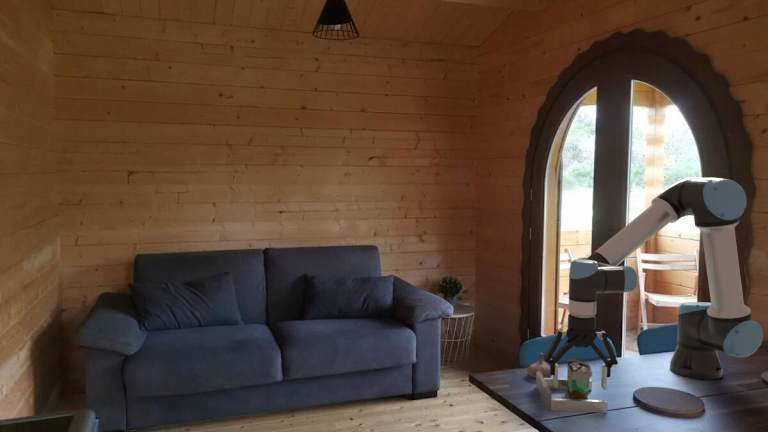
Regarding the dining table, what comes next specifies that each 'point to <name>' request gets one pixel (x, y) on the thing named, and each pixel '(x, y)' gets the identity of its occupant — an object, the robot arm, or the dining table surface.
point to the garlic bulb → (539, 368)
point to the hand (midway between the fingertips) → (579, 387)
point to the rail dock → (566, 404)
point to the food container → (578, 379)
